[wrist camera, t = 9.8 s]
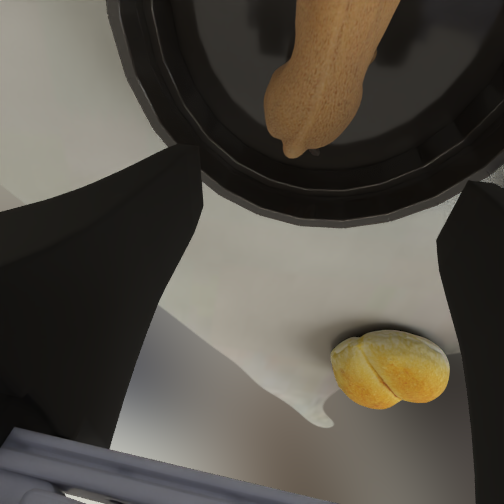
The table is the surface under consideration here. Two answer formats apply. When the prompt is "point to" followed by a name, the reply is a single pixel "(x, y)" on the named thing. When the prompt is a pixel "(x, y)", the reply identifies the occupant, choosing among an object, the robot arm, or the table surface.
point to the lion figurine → (324, 71)
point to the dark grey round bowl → (357, 132)
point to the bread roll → (390, 368)
